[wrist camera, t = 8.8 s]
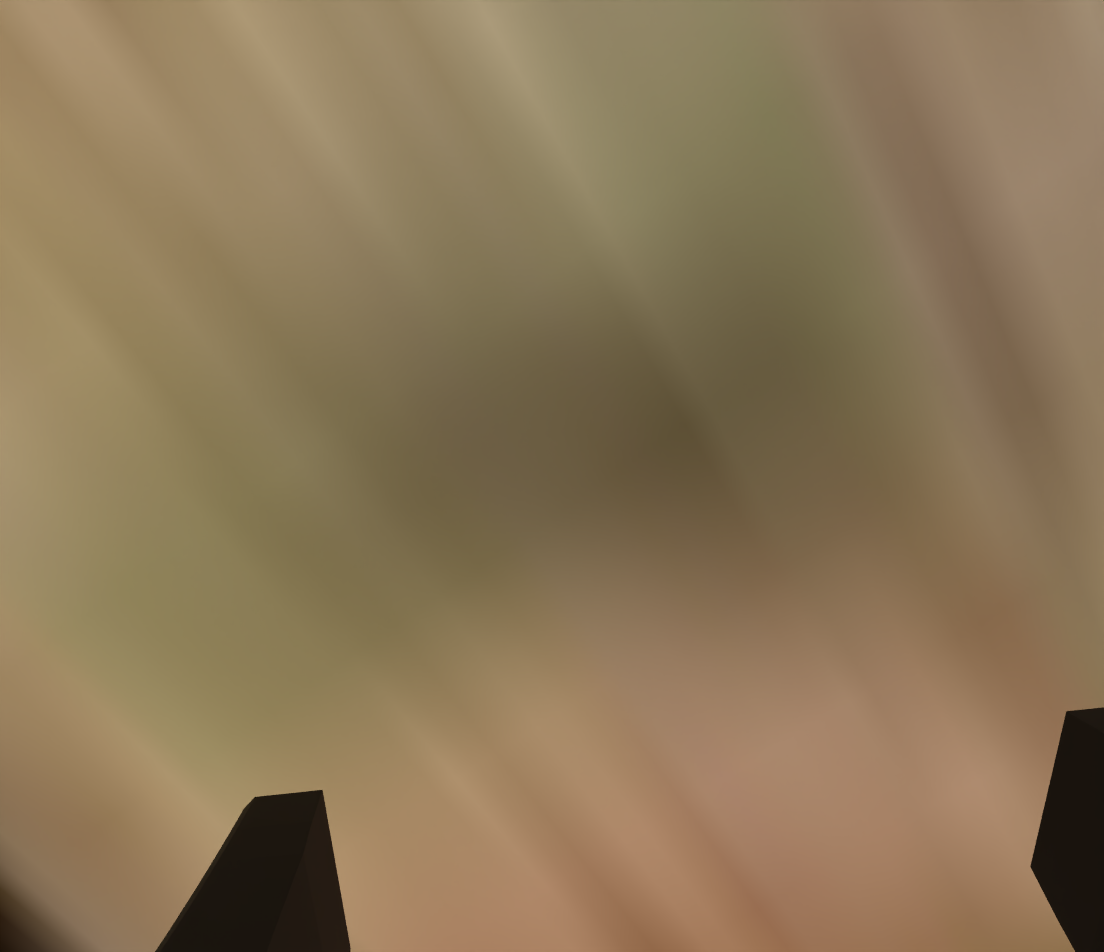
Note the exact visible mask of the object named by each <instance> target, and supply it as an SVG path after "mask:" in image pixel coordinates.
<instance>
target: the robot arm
mask: <svg viewBox="0 0 1104 952" xmlns="http://www.w3.org/2000/svg"><path fill="white" fill-rule="evenodd" d="M1031 869H1032V871H1033V873H1034V875H1035V877H1036V878H1037V880H1038V882H1039V884H1040V886H1041V888H1042V890H1043V892H1044V894H1045V896H1046V898H1047V900H1048V902H1049V904H1050V906H1051V908H1052V910H1053V912H1054V913H1055V915H1056V917H1057V919H1058V921H1059V923H1060V925H1061V927H1062V928H1063V930H1064V932H1065V934H1066V936H1067V937H1068V939H1069V941H1070V943H1071V945H1072V946H1073V948H1074V950H1075V952H1104V708H1094V709H1085V710H1075V711H1066V715H1065V720H1064V724H1063V728H1062V733H1061V737H1060V741H1059V746H1058V750H1057V754H1056V759H1055V763H1054V767H1053V772H1052V776H1051V780H1050V785H1049V789H1048V793H1047V797H1046V802H1045V806H1044V810H1043V815H1042V819H1041V823H1040V828H1039V832H1038V836H1037V841H1036V845H1035V849H1034V854H1033V858H1032V862H1031ZM155 952H350V943H349V937H348V931H347V926H346V920H345V915H344V909H343V903H342V898H341V892H340V886H339V881H338V875H337V869H336V864H335V858H334V853H333V847H332V841H331V836H330V830H329V824H328V819H327V813H326V807H325V802H324V796H323V790H317V791H308V792H298V793H289V794H279V795H270V796H260V797H255V798H254V799H253V800H252V801H251V802H250V803H249V804H248V805H247V806H246V807H245V808H244V810H243V811H242V813H241V815H240V816H239V818H238V820H237V822H236V823H235V825H234V827H233V828H232V830H231V832H230V834H229V835H228V837H227V839H226V840H225V842H224V844H223V845H222V847H221V849H220V850H219V852H218V854H217V855H216V857H215V859H214V860H213V862H212V863H211V865H210V867H209V868H208V870H207V872H206V873H205V875H204V877H203V878H202V880H201V881H200V883H199V885H198V886H197V888H196V889H195V891H194V893H193V894H192V896H191V897H190V899H189V900H188V902H187V904H186V905H185V907H184V908H183V910H182V911H181V913H180V915H179V916H178V918H177V919H176V921H175V922H174V924H173V926H172V927H171V929H170V930H169V932H168V933H167V935H166V936H165V938H164V939H163V941H162V942H161V944H160V945H159V947H158V948H157V950H156V951H155Z"/></svg>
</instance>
